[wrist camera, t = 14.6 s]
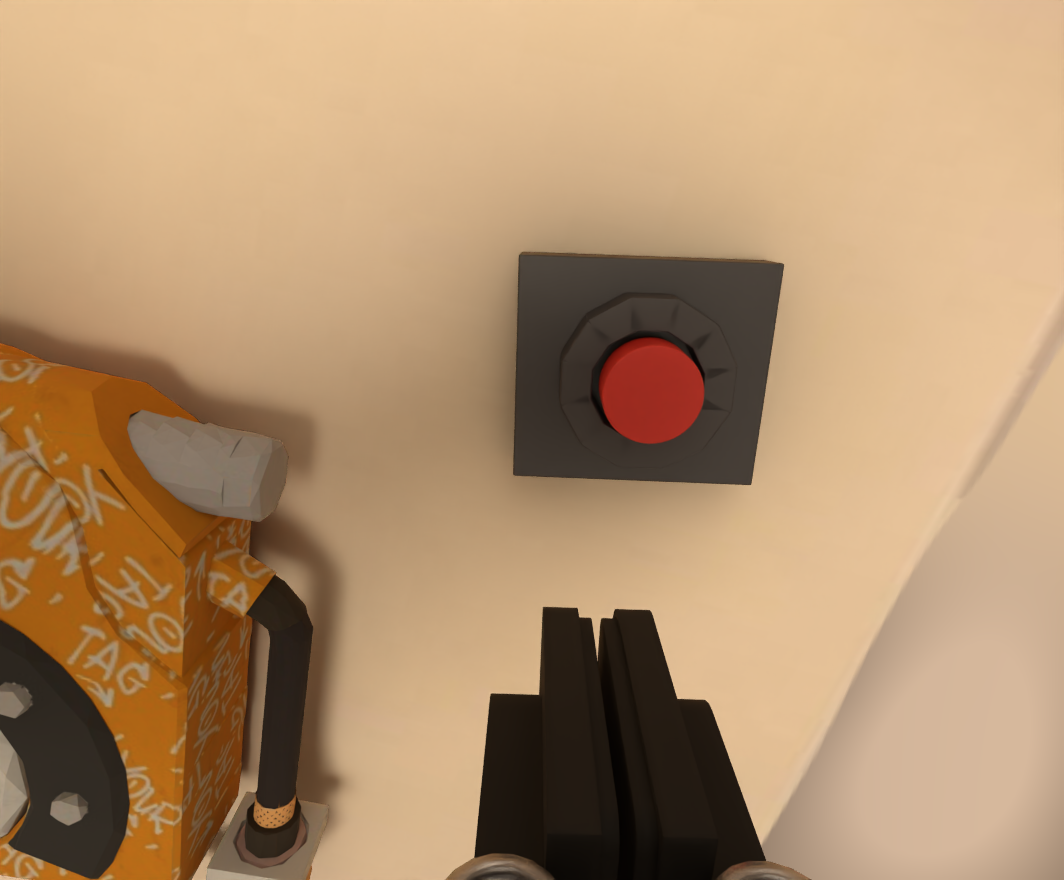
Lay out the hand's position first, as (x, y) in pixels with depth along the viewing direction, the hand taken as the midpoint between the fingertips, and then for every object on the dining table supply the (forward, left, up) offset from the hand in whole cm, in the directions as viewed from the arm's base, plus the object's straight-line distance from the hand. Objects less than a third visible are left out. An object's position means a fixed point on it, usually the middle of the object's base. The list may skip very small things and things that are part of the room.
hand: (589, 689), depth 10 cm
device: (-21, -13, -20) cm, 31 cm away
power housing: (+3, +1, -19) cm, 20 cm away
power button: (+3, +1, -16) cm, 16 cm away
